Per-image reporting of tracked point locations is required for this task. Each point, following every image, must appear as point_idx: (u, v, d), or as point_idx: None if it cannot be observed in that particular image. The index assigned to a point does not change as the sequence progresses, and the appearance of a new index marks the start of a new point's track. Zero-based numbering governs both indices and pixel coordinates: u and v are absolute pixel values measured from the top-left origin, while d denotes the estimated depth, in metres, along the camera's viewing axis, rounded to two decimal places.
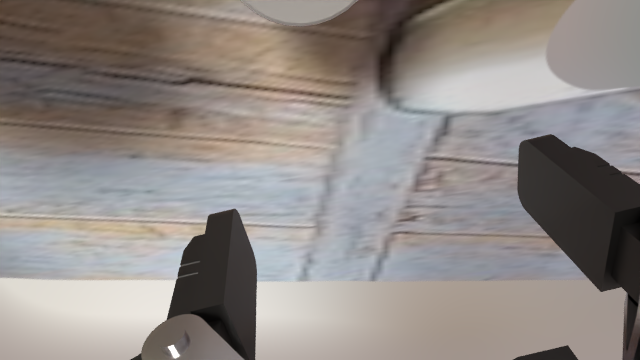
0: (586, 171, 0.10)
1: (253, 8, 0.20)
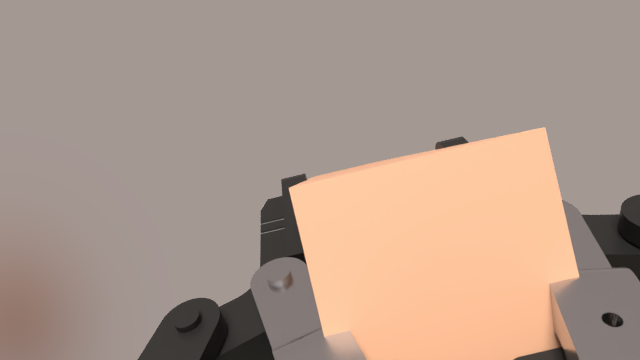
0: None
1: None
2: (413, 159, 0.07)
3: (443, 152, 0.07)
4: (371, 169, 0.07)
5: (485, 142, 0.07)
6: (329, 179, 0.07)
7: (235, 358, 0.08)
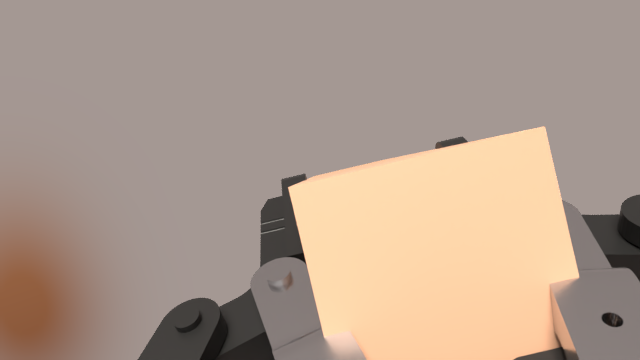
0: None
1: None
2: (413, 158, 0.07)
3: (443, 151, 0.07)
4: (371, 168, 0.07)
5: (485, 141, 0.07)
6: (329, 178, 0.07)
7: (235, 358, 0.08)
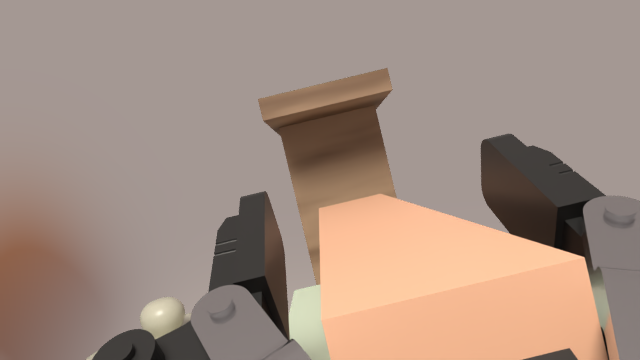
0: (537, 168, 0.10)
1: None
2: (450, 290, 0.06)
3: (480, 283, 0.06)
4: (406, 301, 0.06)
5: (523, 273, 0.06)
6: (363, 311, 0.06)
7: None
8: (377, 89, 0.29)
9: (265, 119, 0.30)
